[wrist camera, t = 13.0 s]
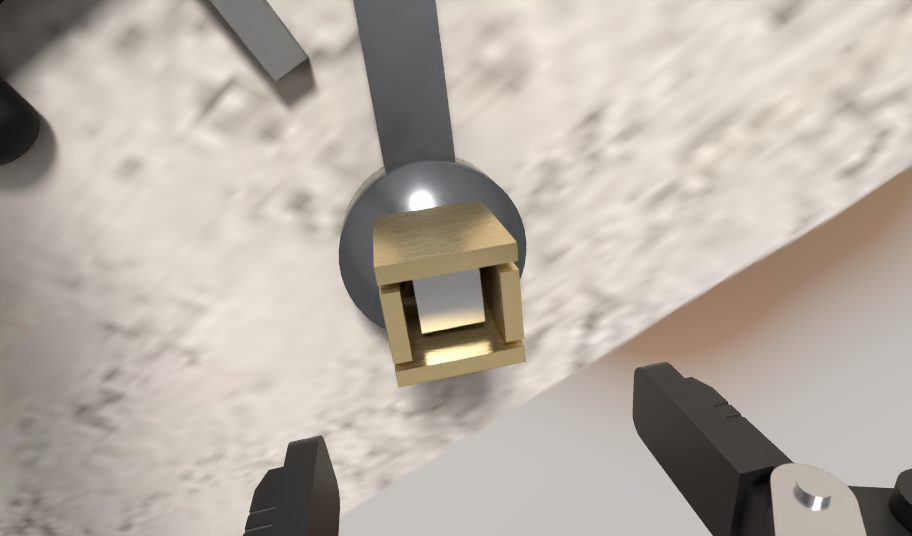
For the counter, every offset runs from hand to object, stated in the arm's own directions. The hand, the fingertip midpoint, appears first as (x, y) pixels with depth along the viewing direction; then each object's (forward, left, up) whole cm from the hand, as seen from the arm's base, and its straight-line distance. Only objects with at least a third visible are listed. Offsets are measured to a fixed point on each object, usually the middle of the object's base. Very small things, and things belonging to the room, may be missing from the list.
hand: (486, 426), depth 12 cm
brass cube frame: (0, 0, -12) cm, 12 cm away
